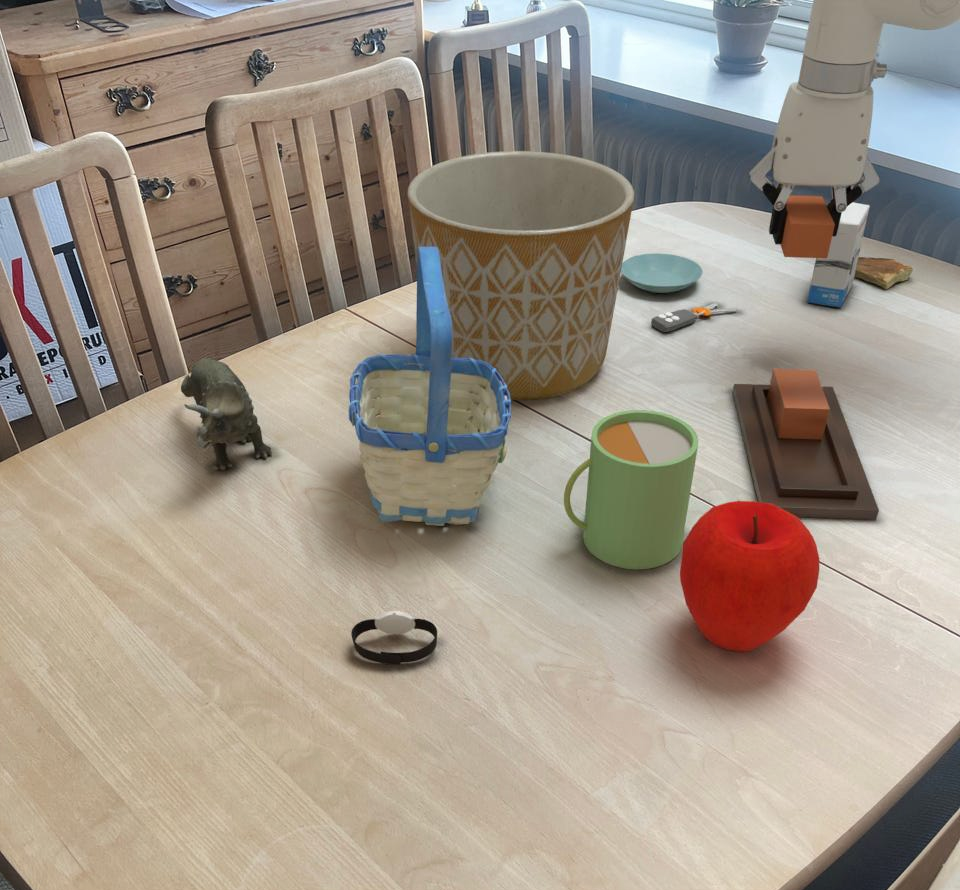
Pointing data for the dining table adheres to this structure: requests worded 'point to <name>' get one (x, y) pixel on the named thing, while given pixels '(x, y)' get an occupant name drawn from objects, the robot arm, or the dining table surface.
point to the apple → (747, 573)
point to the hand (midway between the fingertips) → (801, 239)
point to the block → (807, 228)
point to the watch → (394, 625)
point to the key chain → (683, 317)
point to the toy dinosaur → (222, 410)
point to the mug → (636, 488)
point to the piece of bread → (882, 271)
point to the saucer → (661, 272)
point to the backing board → (802, 448)
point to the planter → (527, 261)
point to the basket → (429, 418)
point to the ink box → (839, 259)
